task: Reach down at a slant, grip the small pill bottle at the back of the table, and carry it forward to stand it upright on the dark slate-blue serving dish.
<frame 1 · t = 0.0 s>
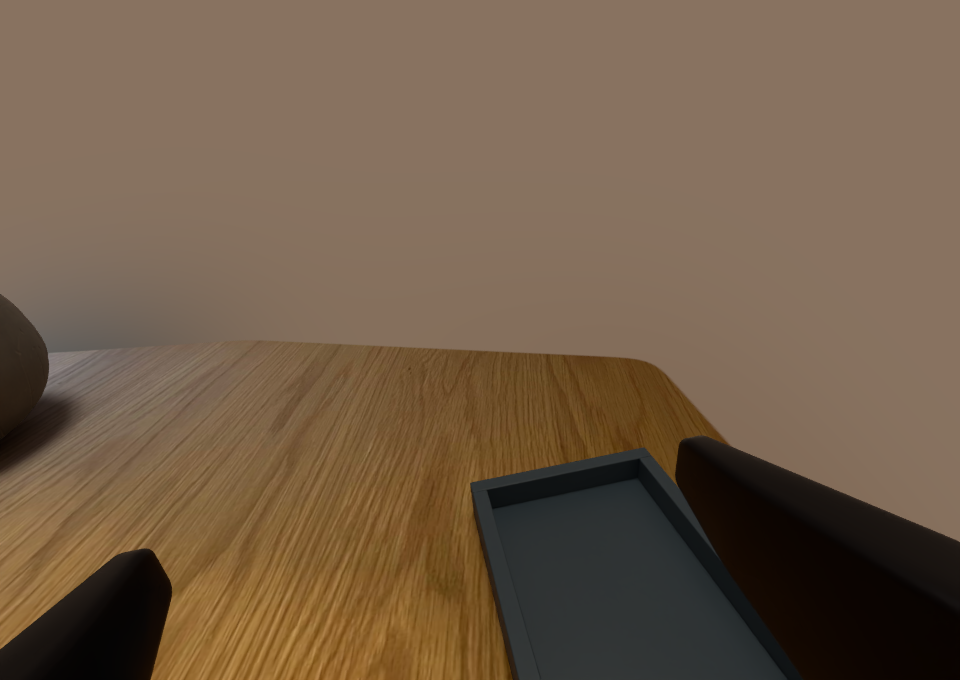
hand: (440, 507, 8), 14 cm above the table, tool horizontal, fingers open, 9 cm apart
dish: (611, 598, 21), on the table
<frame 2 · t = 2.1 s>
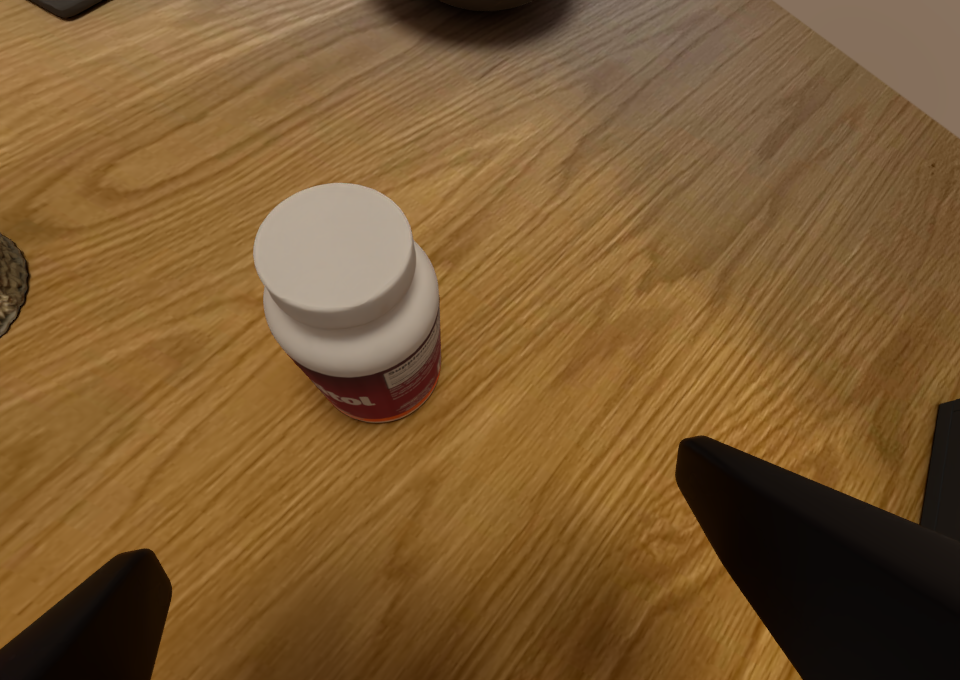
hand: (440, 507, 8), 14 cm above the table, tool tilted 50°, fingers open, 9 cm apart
pill bottle: (383, 369, 23), on the table
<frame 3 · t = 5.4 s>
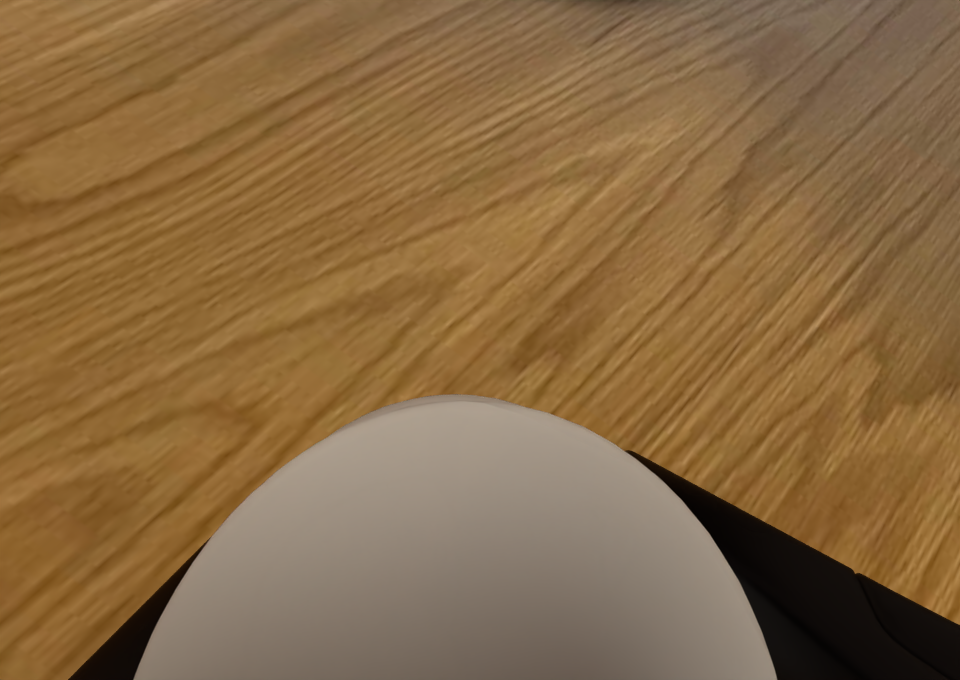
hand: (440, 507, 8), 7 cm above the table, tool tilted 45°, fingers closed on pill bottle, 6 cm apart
pill bottle: (448, 555, 13), on the table, touching gripper
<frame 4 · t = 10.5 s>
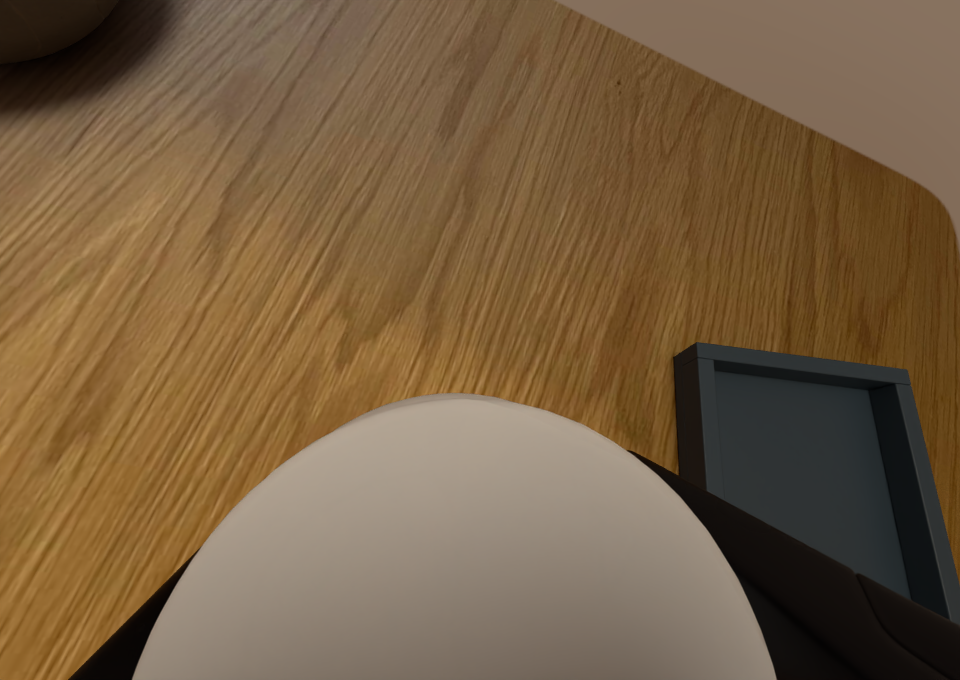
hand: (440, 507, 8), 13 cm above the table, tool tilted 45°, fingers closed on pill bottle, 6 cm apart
bowl: (35, 21, 28), on the table
dish: (787, 504, 21), on the table
pill bottle: (448, 554, 13), point 6 cm above the table, touching gripper
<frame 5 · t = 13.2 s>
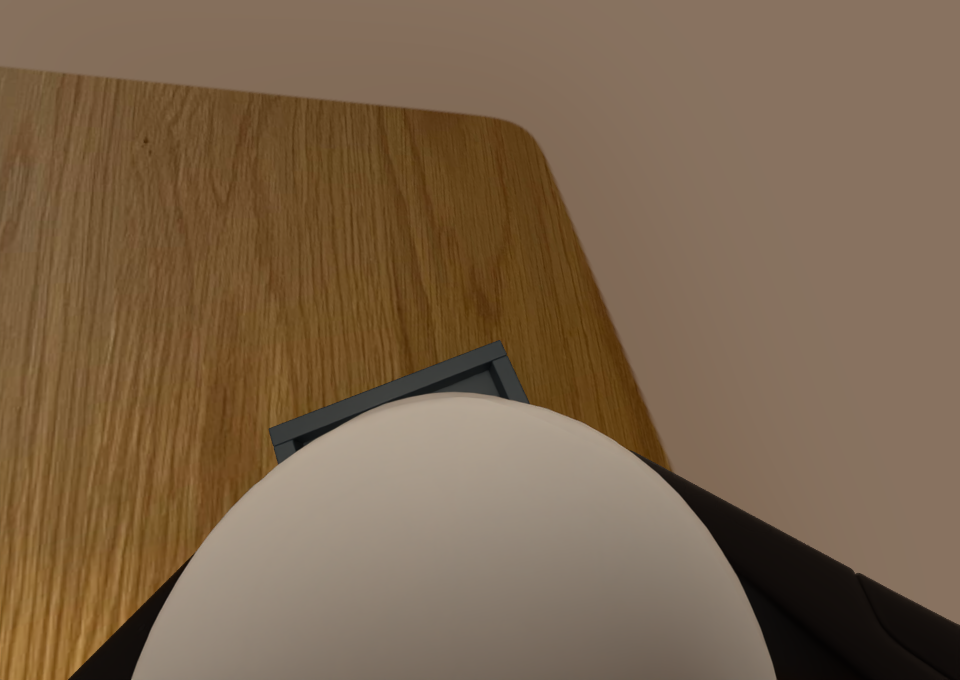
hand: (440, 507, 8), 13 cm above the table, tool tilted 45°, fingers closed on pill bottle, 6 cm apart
dish: (448, 533, 20), on the table
pill bottle: (448, 554, 13), point 6 cm above the table, touching gripper
when the fingers open (7 cm above the table, at t = 15.4 s): pill bottle stays where it is, resting on dish.
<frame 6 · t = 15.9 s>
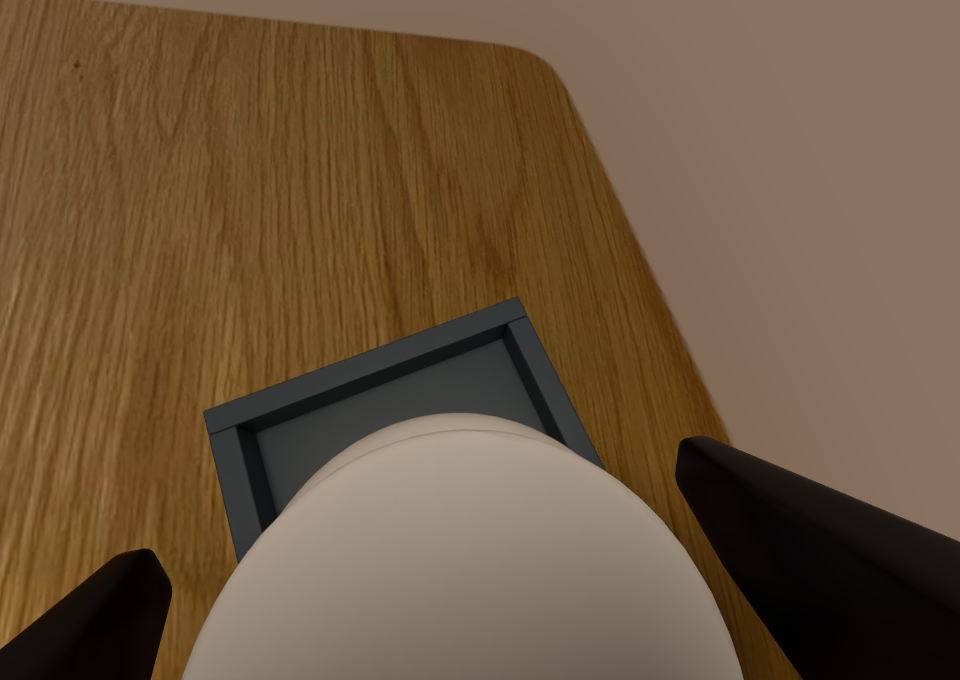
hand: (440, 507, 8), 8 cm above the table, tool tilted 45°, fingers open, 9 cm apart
dish: (450, 553, 15), on the table
pill bottle: (450, 560, 14), point 1 cm above the table, touching dish
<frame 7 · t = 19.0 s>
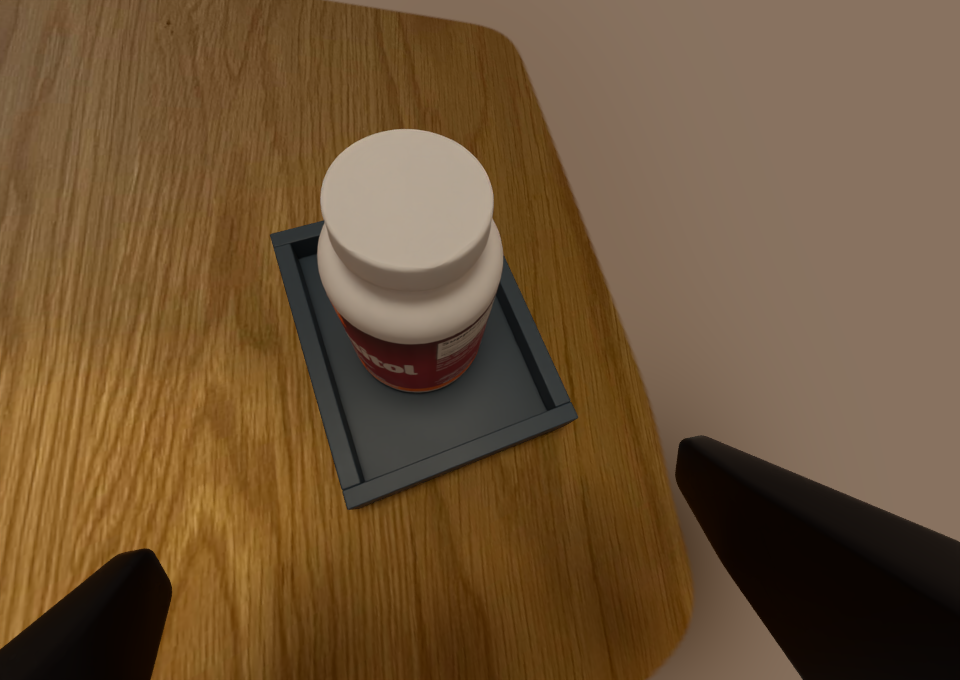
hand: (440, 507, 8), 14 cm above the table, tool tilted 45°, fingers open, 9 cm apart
dish: (419, 339, 23), on the table
pill bottle: (418, 337, 22), point 1 cm above the table, touching dish
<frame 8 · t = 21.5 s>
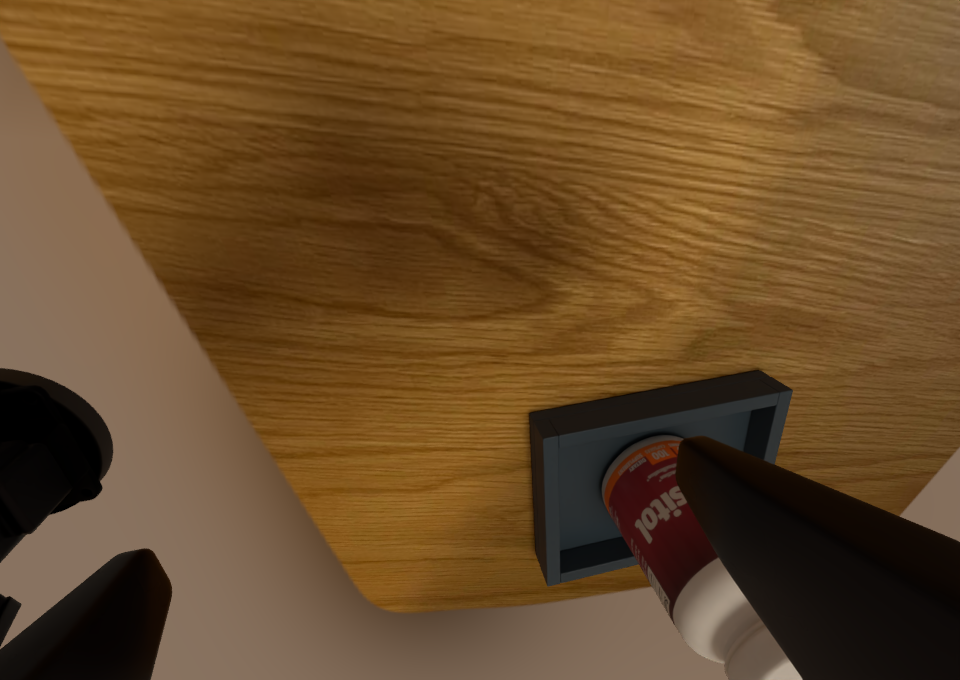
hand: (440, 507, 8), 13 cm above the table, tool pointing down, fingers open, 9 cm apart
dish: (642, 466, 26), on the table
pill bottle: (645, 472, 26), point 1 cm above the table, touching dish
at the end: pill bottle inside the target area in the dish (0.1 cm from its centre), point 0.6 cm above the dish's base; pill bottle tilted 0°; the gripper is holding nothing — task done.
